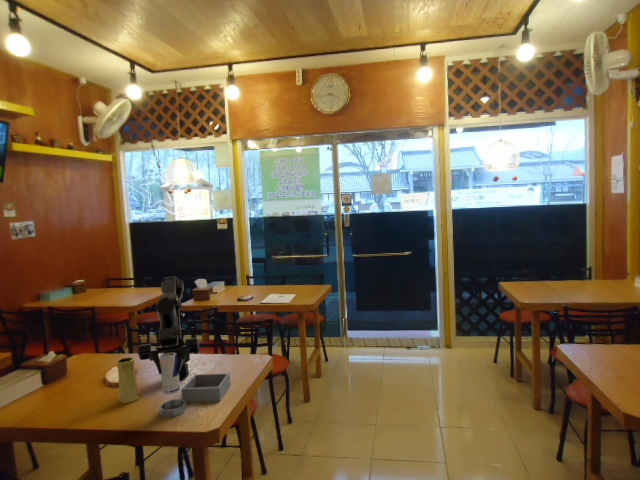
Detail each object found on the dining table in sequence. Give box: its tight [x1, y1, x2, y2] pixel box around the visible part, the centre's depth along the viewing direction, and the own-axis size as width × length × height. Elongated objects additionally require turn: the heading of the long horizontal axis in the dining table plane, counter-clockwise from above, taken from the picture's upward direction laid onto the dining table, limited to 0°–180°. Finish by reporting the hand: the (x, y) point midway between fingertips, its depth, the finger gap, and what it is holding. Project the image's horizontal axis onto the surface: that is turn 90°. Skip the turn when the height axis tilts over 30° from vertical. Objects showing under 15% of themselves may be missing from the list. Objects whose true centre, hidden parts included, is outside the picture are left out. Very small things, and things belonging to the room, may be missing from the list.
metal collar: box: [158, 398, 188, 418], centre depth 138 cm, size 8×8×2 cm
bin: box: [180, 372, 232, 403], centre depth 151 cm, size 13×13×4 cm
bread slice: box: [104, 362, 138, 388], centre depth 172 cm, size 18×18×4 cm
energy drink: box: [159, 352, 181, 395], centre depth 137 cm, size 5×5×12 cm
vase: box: [116, 356, 140, 404], centre depth 149 cm, size 6×6×14 cm
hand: (169, 372), depth 136 cm, fingers closed on energy drink, 5 cm apart
